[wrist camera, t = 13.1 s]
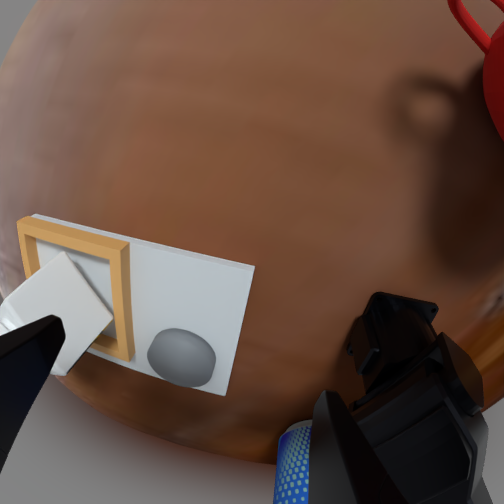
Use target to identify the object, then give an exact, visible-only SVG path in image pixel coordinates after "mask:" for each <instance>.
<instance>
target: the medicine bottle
mask: <svg viewBox="0 0 504 504" xmlns="http://www.w3.org/2000/svg"><path fill="white" fill-rule="evenodd" d="M51 314H53V315H56V316H58V317H60V318H61V319H62V322H63V326H64V330H65V333H66V339H65V342H64V344H63V346H62V348H61V350H60V352H59V354H58V357H57V359H56V361H55V363H54V365H53V367H52V370H51V372H50V374H54V375H61V376H65V375H67V374H68V372H69V371H70V370H71V369H72V367H73V366H74V365H75V364H76V363H77V361H78V360H79V359H80V358H81V357H82V355H83V354H84V353H85V352H86V351H87V350H88V348H89V347H90V346H91V345H92V344H93V343H94V341H95V340H96V339H97V338H98V337H99V336H100V334H101V333H102V332H103V331H104V330H105V329H106V328H107V326H108V325H109V324H110V323H111V322H112V321H113V315H112V314H111V313H110V311H109V310H108V309H107V308H106V306H105V305H104V304H103V303H102V301H101V300H100V299H99V297H98V296H97V295H96V293H95V292H94V291H93V289H92V288H91V287H90V285H89V284H88V283H87V281H86V280H85V278H84V277H83V276H82V274H81V273H80V271H79V270H78V269H77V267H76V266H75V264H74V263H73V261H72V260H71V258H70V257H69V255H68V254H67V252H65V251H63V252H60V253H59V254H58V255H57V256H55V257H54V258H53V259H51V260H50V261H49V262H48V263H46V264H45V265H44V266H43V267H41V268H40V269H39V270H38V271H37V272H35V273H34V274H33V275H32V276H31V277H29V278H28V279H27V280H26V281H25V282H23V283H22V284H21V285H20V286H19V287H18V288H17V289H15V290H14V291H13V292H12V293H11V294H10V295H9V296H8V297H6V298H5V300H4V301H3V303H2V305H1V306H0V336H1V335H3V334H5V333H8V332H10V331H12V330H15V329H17V328H19V327H22V326H24V325H26V324H29V323H31V322H34V321H36V320H38V319H41V318H43V317H46V316H48V315H51Z"/></svg>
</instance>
